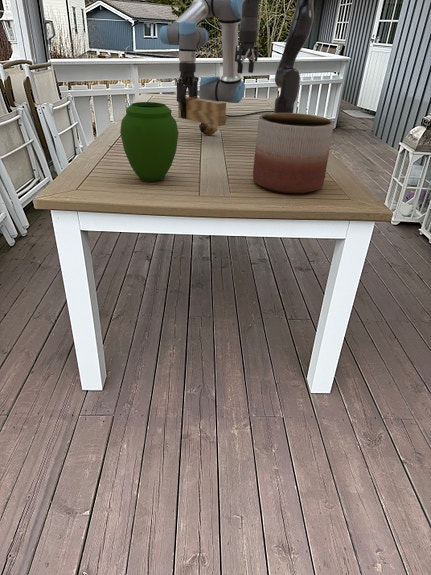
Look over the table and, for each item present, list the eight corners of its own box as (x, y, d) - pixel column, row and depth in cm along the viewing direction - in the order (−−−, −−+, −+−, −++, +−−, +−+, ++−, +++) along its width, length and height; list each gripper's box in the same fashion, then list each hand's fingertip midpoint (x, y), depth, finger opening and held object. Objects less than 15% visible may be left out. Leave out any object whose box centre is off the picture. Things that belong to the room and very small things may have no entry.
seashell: (216, 134, 214) (217, 117, 210) (218, 136, 209) (218, 119, 205) (198, 133, 213) (198, 117, 208) (199, 136, 208) (199, 119, 204)
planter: (334, 195, 139) (348, 127, 128) (262, 196, 135) (270, 126, 123) (308, 173, 160) (318, 112, 149) (245, 173, 156) (250, 111, 145)
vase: (131, 189, 135) (125, 110, 122) (118, 172, 150) (112, 100, 137) (186, 184, 142) (187, 109, 129) (169, 168, 157) (167, 99, 144)
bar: (178, 118, 197) (178, 96, 192) (184, 116, 200) (184, 96, 195) (218, 126, 185) (219, 103, 180) (225, 124, 188) (226, 102, 183)
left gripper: (180, 63, 176) (180, 120, 189) (206, 62, 188) (204, 116, 201) (167, 61, 180) (168, 118, 192) (193, 61, 192) (193, 114, 204)
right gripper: (246, 29, 166) (243, 74, 174) (265, 30, 176) (261, 73, 184) (231, 29, 170) (229, 72, 178) (250, 30, 179) (247, 71, 188)
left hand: (187, 117), depth 196 cm, fingers closed on bar, 5 cm apart
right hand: (245, 73), depth 181 cm, fingers open, 8 cm apart
